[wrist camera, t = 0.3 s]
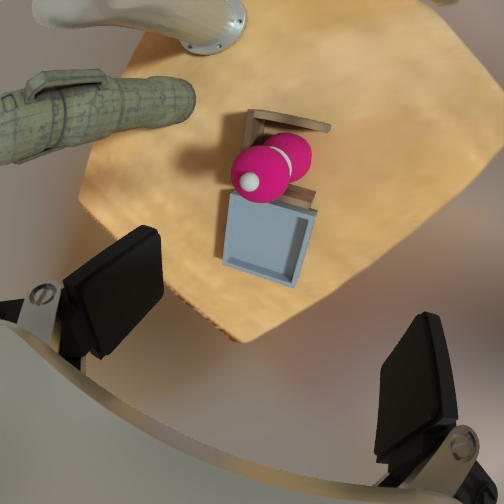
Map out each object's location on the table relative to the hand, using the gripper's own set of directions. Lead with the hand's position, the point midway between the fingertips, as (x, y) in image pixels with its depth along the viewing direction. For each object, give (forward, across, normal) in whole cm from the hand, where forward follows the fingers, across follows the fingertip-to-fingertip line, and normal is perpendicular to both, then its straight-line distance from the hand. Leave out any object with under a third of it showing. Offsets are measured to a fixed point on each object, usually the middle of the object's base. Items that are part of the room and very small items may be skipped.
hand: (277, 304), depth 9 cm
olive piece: (+36, +28, -5) cm, 46 cm away
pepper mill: (+36, +7, +2) cm, 36 cm away
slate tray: (+35, +8, +17) cm, 40 cm away
